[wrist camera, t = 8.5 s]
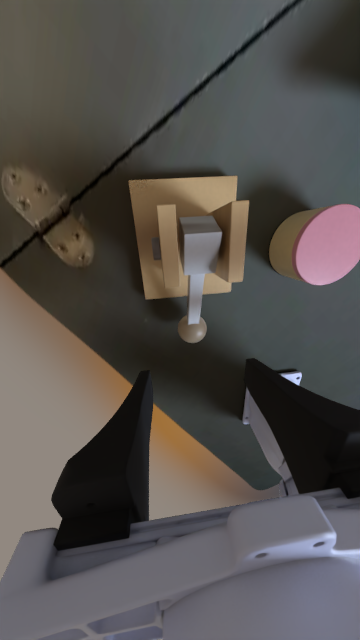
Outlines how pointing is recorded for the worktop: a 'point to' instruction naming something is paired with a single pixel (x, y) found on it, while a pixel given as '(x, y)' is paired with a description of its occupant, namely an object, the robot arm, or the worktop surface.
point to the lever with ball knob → (197, 269)
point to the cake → (317, 244)
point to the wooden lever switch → (163, 231)
